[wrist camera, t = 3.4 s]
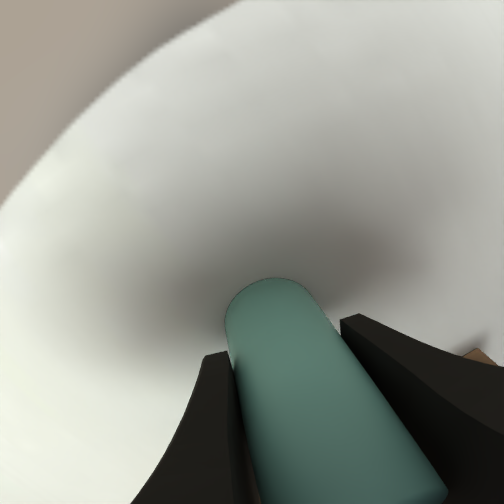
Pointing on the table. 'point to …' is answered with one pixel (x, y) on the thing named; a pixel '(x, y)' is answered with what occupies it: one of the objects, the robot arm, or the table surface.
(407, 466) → the peg
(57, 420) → the table surface
